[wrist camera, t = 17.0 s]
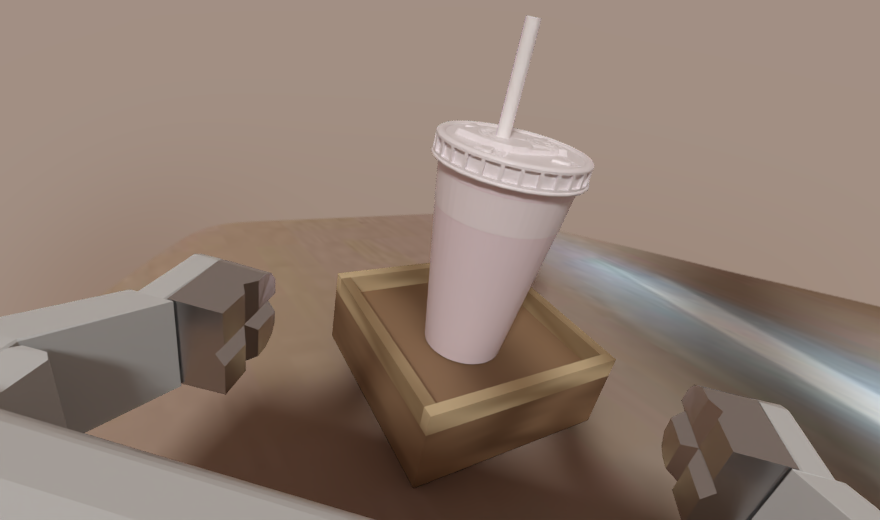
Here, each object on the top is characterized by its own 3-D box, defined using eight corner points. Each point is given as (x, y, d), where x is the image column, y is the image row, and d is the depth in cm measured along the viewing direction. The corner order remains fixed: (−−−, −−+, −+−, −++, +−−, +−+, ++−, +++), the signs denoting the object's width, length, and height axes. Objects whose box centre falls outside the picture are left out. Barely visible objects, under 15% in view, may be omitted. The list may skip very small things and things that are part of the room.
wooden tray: (479, 308, 31) (493, 255, 29) (587, 420, 24) (615, 359, 22) (332, 335, 26) (338, 273, 24) (413, 487, 19) (430, 416, 17)
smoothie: (398, 293, 25) (452, 0, 19) (513, 309, 26) (602, 35, 20) (394, 376, 20) (469, -2, 13) (540, 393, 20) (678, 46, 14)
